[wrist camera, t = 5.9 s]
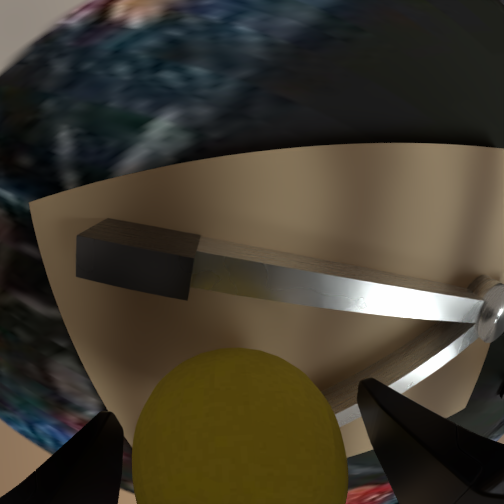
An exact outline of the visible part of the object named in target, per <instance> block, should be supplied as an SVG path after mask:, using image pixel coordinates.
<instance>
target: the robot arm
mask: <svg viewBox="0 0 504 504" xmlns="http://www.w3.org/2000/svg"><path fill="white" fill-rule="evenodd" d="M500 397H501V398H502V399H503V398H504V387H503V389H502V391H501V393H500ZM357 404H358V407H359V410H360V413H361V416H362V419H363V422H364V425H365V428H366V431H367V434H368V437H369V440H370V443H371V445H372V447H373V449H374V451H375V453H376V455H377V458H378V460H379V462H380V464H381V466H382V468H383V470H384V472H385V474H386V476H387V478H388V481H389V483H390V485H391V487H392V489H393V491H394V493H395V495H396V498H397V500H398V502H399V504H504V444H502V443H499V442H496V441H493V440H490V439H488V438H485V437H482V436H480V435H478V434H475V433H473V432H471V431H469V430H467V429H465V428H463V427H461V426H459V425H456V424H455V423H453V422H452V421H450V420H448V419H446V418H444V417H442V416H440V415H438V414H437V413H435V412H433V411H431V410H429V409H427V408H426V407H424V406H422V405H420V404H418V403H417V402H415V401H413V400H411V399H409V398H408V397H406V396H404V395H402V394H401V393H399V392H397V391H395V390H394V389H392V388H390V387H388V386H387V385H385V384H383V383H381V382H380V381H378V380H376V379H375V378H372V377H370V378H366V379H363V380H360V381H359V384H358V392H357ZM123 440H124V430H123V427H122V426H121V424H120V422H119V421H118V419H117V417H116V416H115V414H114V413H113V412H111V411H101V412H99V413H98V414H97V415H96V416H95V417H94V418H93V419H92V420H91V421H89V422H88V423H87V424H86V425H85V426H84V427H83V428H82V429H81V430H80V431H79V432H77V433H76V434H75V435H74V436H73V437H72V438H71V439H70V440H69V441H67V442H66V443H65V444H64V445H63V446H62V447H61V448H60V449H59V450H58V451H56V452H55V453H54V454H53V455H52V456H51V457H50V458H49V459H47V461H45V462H44V463H43V464H42V465H41V466H40V467H39V468H37V469H36V471H34V472H33V473H32V474H31V475H29V476H28V477H27V478H26V479H25V480H24V481H22V482H21V483H20V484H19V485H18V486H16V487H15V488H13V489H12V490H11V491H9V492H8V493H6V494H5V495H3V496H2V497H0V504H118V498H119V490H120V483H121V476H122V463H123Z"/></svg>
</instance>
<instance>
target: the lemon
mask: <svg viewBox="0 0 504 504" xmlns="http://www.w3.org/2000/svg"><path fill="white" fill-rule="evenodd" d="M132 475H133V486H134V492H135V497H136V501H137V504H345V503H346V498H347V493H348V465H347V456H346V451H345V446H344V442H343V438H342V434H341V431H340V427H339V424H338V421H337V419H336V416H335V414H334V412H333V410H332V408H331V406H330V404H329V402H328V401H327V399H326V398H325V397H324V395H323V394H322V393H321V391H320V390H319V389H318V388H317V387H316V386H315V384H314V383H313V382H312V381H311V380H310V379H309V377H308V376H307V375H306V374H305V373H303V372H302V371H301V370H300V369H298V368H297V367H295V366H294V365H292V364H290V363H289V362H287V361H286V360H284V359H282V358H280V357H278V356H276V355H273V354H270V353H267V352H264V351H261V350H255V349H247V348H240V347H237V348H220V349H216V350H212V351H208V352H204V353H200V354H198V355H196V356H194V357H192V358H190V359H187V360H185V361H183V362H182V363H180V364H179V365H177V366H176V367H175V368H174V369H173V370H171V371H170V372H169V373H168V374H167V375H165V376H164V377H163V378H162V379H161V380H160V381H159V383H158V384H157V385H156V387H155V388H154V390H153V391H152V393H151V395H150V396H149V398H148V400H147V402H146V403H145V405H144V407H143V409H142V411H141V413H140V416H139V418H138V421H137V425H136V428H135V432H134V438H133V446H132Z"/></svg>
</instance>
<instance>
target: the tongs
mask: <svg viewBox="0 0 504 504" xmlns="http://www.w3.org/2000/svg"><path fill="white" fill-rule="evenodd" d="M76 277H78V278H82V279H86V280H91V281H95V282H99V283H103V284H108V285H112V286H117V287H121V288H126V289H130V290H135V291H140V292H144V293H149V294H154V295H159V296H164V297H169V298H175V299H180V300H185V301H188V297H189V292H190V288H191V287H193V288H198V289H204V290H210V291H215V292H221V293H227V294H233V295H239V296H245V297H251V298H257V299H264V300H270V301H277V302H284V303H291V304H297V305H305V306H312V307H319V308H327V309H335V310H343V311H351V312H359V313H368V314H377V315H386V316H396V317H406V318H416V319H427V320H439V322H437V323H436V324H434V325H433V326H432V327H430V328H429V329H427V330H426V331H424V332H423V333H422V334H420V335H419V336H417V337H416V338H414V339H413V340H411V341H410V342H408V343H407V344H405V345H403V346H402V347H400V348H399V349H397V350H396V351H394V352H392V353H391V354H389V355H387V356H386V357H384V358H382V359H381V360H379V361H377V362H376V363H374V364H372V365H370V366H369V367H367V368H365V369H363V370H362V371H360V372H358V373H356V374H354V375H353V376H351V377H349V378H347V379H345V380H343V381H341V382H339V383H337V384H335V385H333V386H331V387H329V388H327V389H325V390H323V391H321V393H322V394H323V395H324V397H325V398H326V399H327V401H328V402H329V404H330V406H331V408H332V410H333V412H334V414H335V416H336V419H337V421H338V424H339V427H341V426H343V425H345V424H348V423H350V422H352V421H354V420H355V419H357V418H359V417H361V413H360V410H359V407H358V404H357V392H358V384H359V381H360V380H363V379H366V378H370V377H372V378H375V379H376V380H378V381H380V382H381V383H383V384H385V385H387V386H388V387H390V388H392V389H394V390H395V391H397V392H399V393H401V394H402V393H403V392H405V391H406V390H408V389H410V388H411V387H413V386H414V385H416V384H417V383H419V382H420V381H422V380H423V379H425V378H426V377H428V376H429V375H431V374H432V373H434V372H435V371H436V370H438V369H439V368H441V367H442V366H443V365H445V364H446V363H447V362H449V361H450V360H451V359H453V358H454V357H455V356H457V355H458V354H459V353H460V352H462V351H463V350H464V349H465V348H467V347H468V346H469V345H470V344H471V343H473V342H474V341H475V340H476V339H477V338H480V339H482V340H483V341H484V342H486V343H490V342H493V341H495V340H496V339H497V338H498V337H500V336H501V334H502V333H503V332H504V284H502V283H500V282H498V281H497V280H495V279H493V278H491V277H490V276H488V275H480V276H478V277H477V278H475V279H474V280H473V281H472V282H471V283H470V284H469V286H468V287H467V288H465V287H460V286H455V285H450V284H445V283H440V282H435V281H430V280H425V279H420V278H415V277H410V276H405V275H400V274H395V273H390V272H385V271H379V270H374V269H369V268H364V267H359V266H354V265H349V264H344V263H338V262H333V261H328V260H323V259H318V258H313V257H307V256H302V255H297V254H292V253H286V252H281V251H276V250H271V249H265V248H260V247H255V246H250V245H244V244H239V243H234V242H228V241H223V240H218V239H212V238H207V237H202V236H201V235H198V234H193V233H188V232H182V231H177V230H171V229H166V228H161V227H155V226H150V225H144V224H139V223H133V222H128V221H122V220H117V219H111V218H107V219H105V220H103V221H101V222H99V223H98V224H96V225H94V226H92V227H90V228H89V229H87V230H85V231H83V232H82V233H80V234H78V235H77V238H76Z"/></svg>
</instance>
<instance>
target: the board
mask: <svg viewBox="0 0 504 504" xmlns="http://www.w3.org/2000/svg"><path fill="white" fill-rule="evenodd" d="M29 206H30V211H31V216H32V221H33V225H34V230H35V234H36V238H37V242H38V246H39V249H40V253H41V256H42V260H43V263H44V267H45V270H46V273H47V276H48V279H49V282H50V285H51V288H52V291H53V294H54V297H55V300H56V303H57V305H58V308H59V311H60V313H61V316H62V318H63V321H64V323H65V326H66V328H67V330H68V333H69V335H70V337H71V340H72V342H73V344H74V346H75V349H76V351H77V353H78V355H79V357H80V359H81V361H82V363H83V365H84V367H85V369H86V371H87V373H88V375H89V377H90V379H91V381H92V383H93V385H94V387H95V388H96V390H97V392H98V394H99V396H100V397H101V399H102V401H103V403H104V404H105V406H106V408H107V410H108V411H111V412H113V413H114V414H115V416H116V417H117V419H118V421H119V422H120V424H121V426H122V427H123V430H124V436H125V438H126V439H127V441H128V442H129V444H130V445H131V447H132V446H133V438H134V432H135V428H136V425H137V421H138V418H139V416H140V413H141V411H142V409H143V407H144V405H145V403H146V402H147V400H148V398H149V396H150V395H151V393H152V391H153V390H154V388H155V387H156V385H157V384H158V383H159V381H160V380H161V379H162V378H163V377H164V376H165V375H167V374H168V373H169V372H170V371H171V370H173V369H174V368H175V367H176V366H177V365H179V364H180V363H182V362H183V361H185V360H187V359H190V358H192V357H194V356H196V355H198V354H200V353H204V352H208V351H212V350H216V349H220V348H237V347H240V348H247V349H255V350H261V351H264V352H267V353H270V354H273V355H276V356H278V357H280V358H282V359H284V360H286V361H287V362H289V363H290V364H292V365H294V366H295V367H297V368H298V369H300V370H301V371H302V372H303V373H305V374H306V375H307V376H308V377H309V379H310V380H311V381H312V382H313V383H314V384H315V386H316V387H317V388H318V389H319V390H320V391H323V390H325V389H327V388H329V387H331V386H333V385H335V384H337V383H339V382H341V381H343V380H345V379H347V378H349V377H351V376H353V375H354V374H356V373H358V372H360V371H362V370H363V369H365V368H367V367H369V366H370V365H372V364H374V363H376V362H377V361H379V360H381V359H382V358H384V357H386V356H387V355H389V354H391V353H392V352H394V351H396V350H397V349H399V348H400V347H402V346H403V345H405V344H407V343H408V342H410V341H411V340H413V339H414V338H416V337H417V336H419V335H420V334H422V333H423V332H424V331H426V330H427V329H429V328H430V327H432V326H433V325H434V324H436V323H437V322H439V320H427V319H416V318H406V317H396V316H386V315H377V314H368V313H359V312H351V311H343V310H335V309H327V308H319V307H312V306H305V305H297V304H291V303H284V302H277V301H270V300H264V299H257V298H251V297H245V296H239V295H233V294H227V293H221V292H215V291H210V290H204V289H198V288H193V287H191V288H190V292H189V297H188V301H185V300H180V299H175V298H169V297H164V296H159V295H154V294H149V293H144V292H140V291H135V290H130V289H126V288H121V287H117V286H112V285H108V284H103V283H99V282H95V281H91V280H86V279H82V278H78V277H76V238H77V235H78V234H80V233H82V232H83V231H85V230H87V229H89V228H90V227H92V226H94V225H96V224H98V223H99V222H101V221H103V220H105V219H107V218H111V219H117V220H122V221H128V222H133V223H139V224H144V225H150V226H155V227H161V228H166V229H171V230H177V231H182V232H188V233H193V234H198V235H201V236H202V237H207V238H212V239H218V240H223V241H228V242H234V243H239V244H244V245H250V246H255V247H260V248H265V249H271V250H276V251H281V252H286V253H292V254H297V255H302V256H307V257H313V258H318V259H323V260H328V261H333V262H338V263H344V264H349V265H354V266H359V267H364V268H369V269H374V270H379V271H385V272H390V273H395V274H400V275H405V276H410V277H415V278H420V279H425V280H430V281H435V282H440V283H445V284H450V285H455V286H460V287H465V288H467V287H468V286H469V284H470V283H471V282H472V281H473V280H474V279H475V278H477V277H478V276H480V275H488V276H490V277H491V278H493V279H495V280H497V281H498V282H500V283H502V284H504V149H500V148H491V147H480V146H468V145H452V144H430V143H363V144H339V145H322V146H309V147H297V148H286V149H276V150H267V151H258V152H250V153H242V154H235V155H228V156H221V157H215V158H208V159H202V160H196V161H191V162H185V163H180V164H174V165H169V166H164V167H159V168H154V169H150V170H145V171H140V172H136V173H132V174H127V175H123V176H119V177H115V178H111V179H107V180H103V181H99V182H95V183H91V184H88V185H84V186H81V187H77V188H74V189H70V190H67V191H63V192H60V193H57V194H53V195H50V196H47V197H44V198H41V199H38V200H35V201H32V202H29ZM490 343H491V342H490ZM490 343H486V342H484V341H483V340H482V339H480V338H477V339H476V340H475V341H474V342H473V343H471V344H470V345H469V346H468V347H467V348H465V349H464V350H463V351H462V352H460V353H459V354H458V355H457V356H455V357H454V358H453V359H451V360H450V361H449V362H447V363H446V364H445V365H443V366H442V367H441V368H439V369H438V370H436V371H435V372H434V373H432V374H431V375H429V376H428V377H426V378H425V379H423V380H422V381H420V382H419V383H417V384H416V385H414V386H413V387H411V388H410V389H408V390H406V391H405V392H403V393H402V395H404V396H406V397H408V398H409V399H411V400H413V401H415V402H417V403H418V404H420V405H422V406H424V407H426V408H427V409H429V410H431V411H433V412H435V413H437V414H438V415H440V416H442V417H444V418H447V417H449V416H451V415H453V414H455V413H457V412H459V411H460V410H462V409H464V408H465V407H466V405H467V403H468V400H469V398H470V396H471V394H472V391H473V389H474V387H475V384H476V382H477V379H478V377H479V374H480V371H481V369H482V366H483V363H484V361H485V358H486V355H487V352H488V349H489V346H490ZM340 431H341V434H342V438H343V442H344V446H345V451H346V456H347V457H350V456H354V455H357V454H360V453H363V452H366V451H369V450H372V449H373V447H372V445H371V443H370V440H369V437H368V434H367V431H366V428H365V425H364V422H363V419H362V416H361V417H359V418H357V419H355V420H354V421H352V422H350V423H348V424H345V425H343V426H341V427H340Z"/></svg>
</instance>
